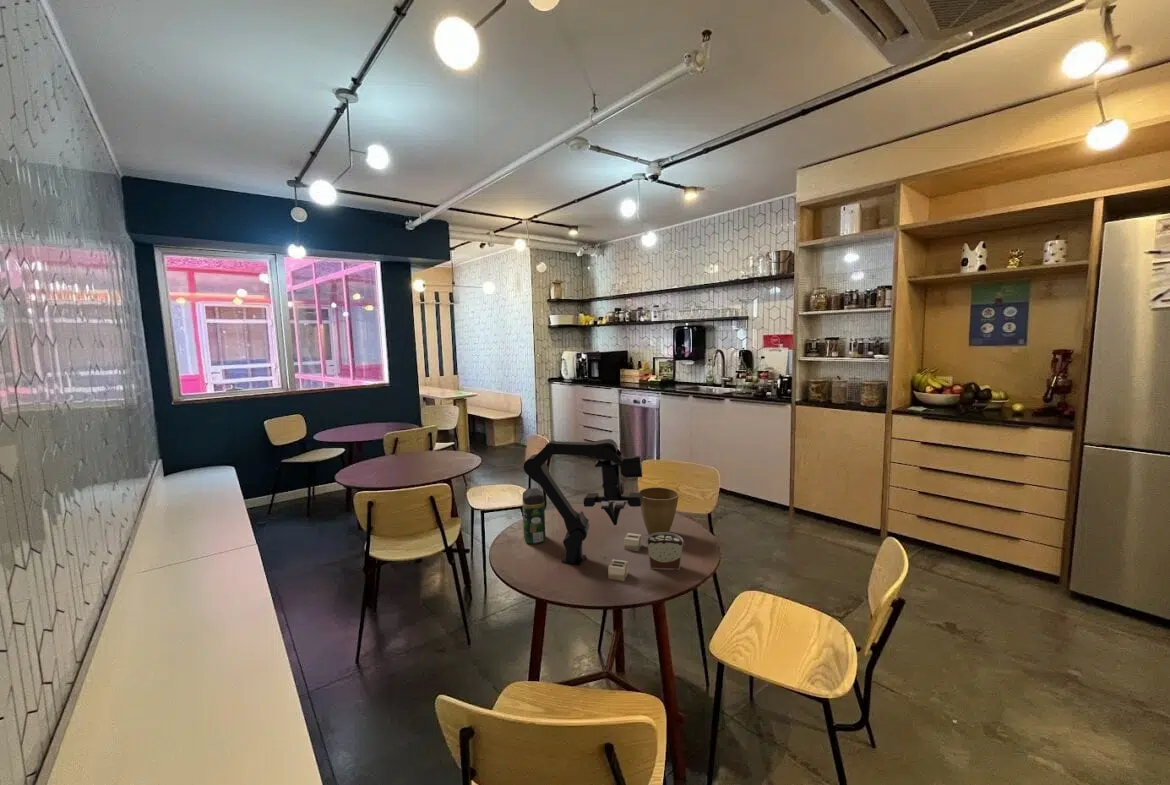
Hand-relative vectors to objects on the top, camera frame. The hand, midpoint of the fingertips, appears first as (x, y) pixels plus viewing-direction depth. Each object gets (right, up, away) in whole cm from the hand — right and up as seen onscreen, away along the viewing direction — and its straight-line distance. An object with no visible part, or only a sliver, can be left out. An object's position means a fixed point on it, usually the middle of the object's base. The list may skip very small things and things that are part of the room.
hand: (615, 524), depth 154 cm
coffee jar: (-29, -11, +20) cm, 37 cm away
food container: (+16, -13, 0) cm, 21 cm away
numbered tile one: (+7, -12, +13) cm, 18 cm away
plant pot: (+18, -10, +23) cm, 31 cm away
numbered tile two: (0, -14, -7) cm, 16 cm away
